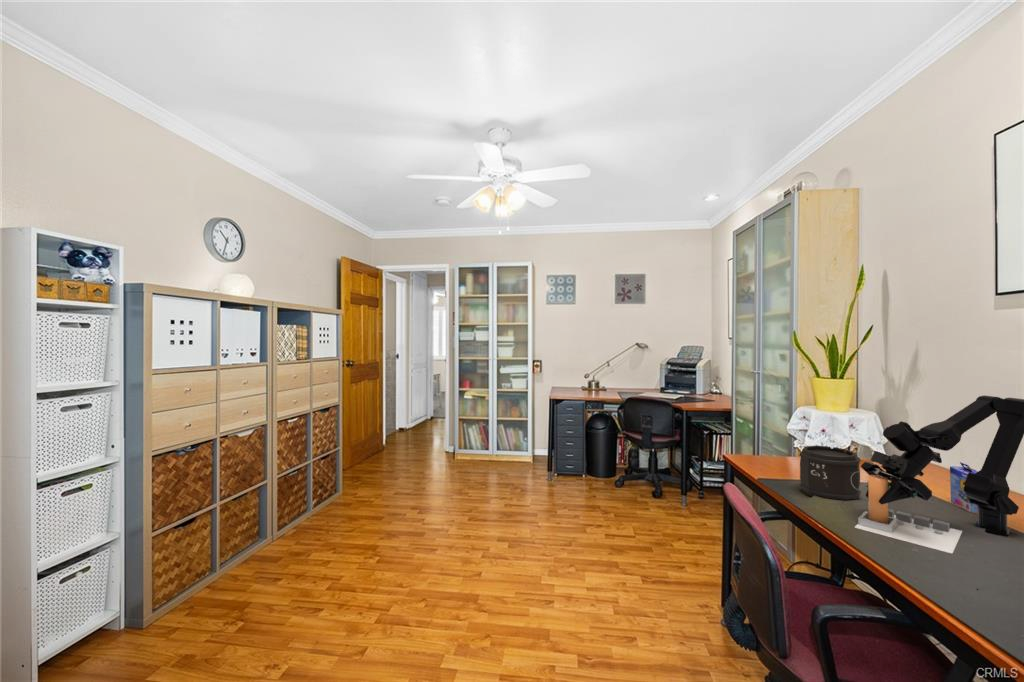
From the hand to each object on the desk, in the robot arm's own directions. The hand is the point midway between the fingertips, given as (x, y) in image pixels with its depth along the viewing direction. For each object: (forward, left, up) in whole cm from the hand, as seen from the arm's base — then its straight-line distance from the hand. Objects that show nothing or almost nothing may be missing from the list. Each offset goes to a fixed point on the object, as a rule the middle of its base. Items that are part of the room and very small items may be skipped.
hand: (873, 500), depth 127 cm
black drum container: (-23, -17, -9) cm, 30 cm away
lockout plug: (-1, +1, -6) cm, 7 cm away
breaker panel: (-4, +7, -9) cm, 12 cm away
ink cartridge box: (-43, +16, -9) cm, 47 cm away
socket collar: (-1, +1, -7) cm, 7 cm away
